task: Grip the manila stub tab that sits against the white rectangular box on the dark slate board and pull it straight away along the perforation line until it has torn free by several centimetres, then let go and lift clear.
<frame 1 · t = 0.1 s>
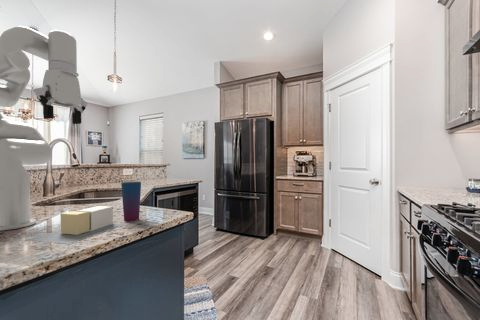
hand: (63, 121, 76), 37 cm above the counter, tool pointing down, fingers open, 9 cm apart
board: (80, 233, 71), on the counter
white rectangular box: (94, 226, 76), resting on board
cup: (131, 222, 85), on the counter
stub: (75, 222, 70), point 4 cm above the counter, slide at 0.0 cm
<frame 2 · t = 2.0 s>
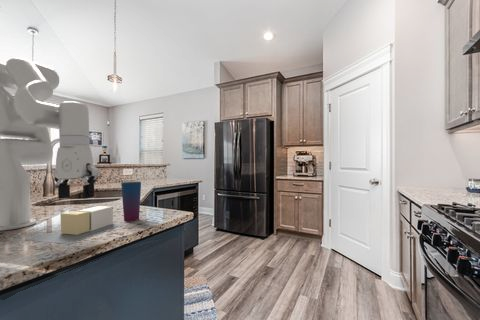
hand: (76, 197, 70), 12 cm above the counter, tool pointing down, fingers open, 9 cm apart
nothing on the counter moved.
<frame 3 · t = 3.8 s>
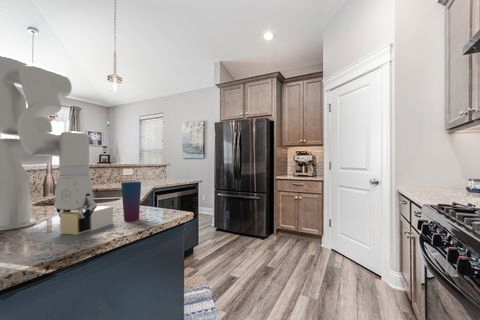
hand: (75, 229, 70), 2 cm above the counter, tool pointing down, fingers closed on stub, 6 cm apart
stub: (75, 222, 70), point 4 cm above the counter, slide at 0.0 cm, touching gripper
everything else where it was.
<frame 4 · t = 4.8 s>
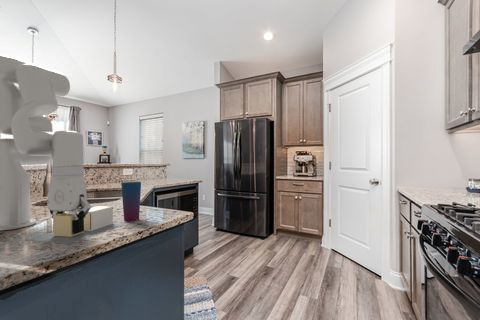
hand: (68, 231, 68), 2 cm above the counter, tool pointing down, fingers closed on stub, 6 cm apart
stub: (68, 223, 68), point 4 cm above the counter, slide at 2.0 cm, touching gripper
everything else where it was.
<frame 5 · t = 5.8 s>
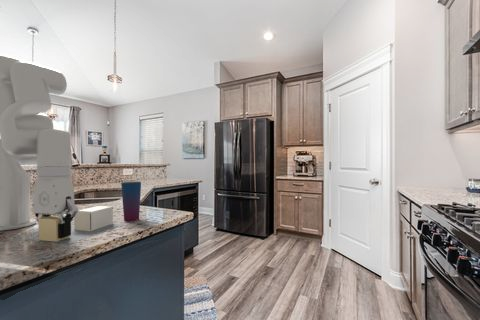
hand: (54, 235, 64), 2 cm above the counter, tool pointing down, fingers closed on stub, 6 cm apart
stub: (54, 227, 64), point 4 cm above the counter, slide at 6.0 cm, touching gripper
everything else where it was.
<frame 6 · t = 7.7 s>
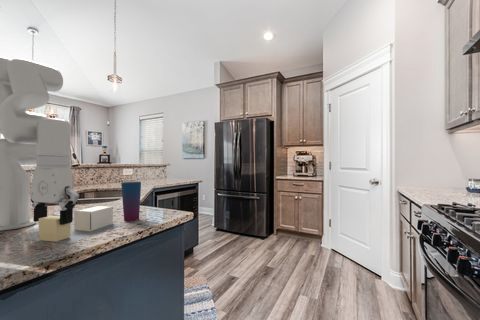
hand: (53, 221, 64), 6 cm above the counter, tool pointing down, fingers open, 9 cm apart
stub: (54, 227, 64), point 4 cm above the counter, slide at 6.0 cm
everything else where it was.
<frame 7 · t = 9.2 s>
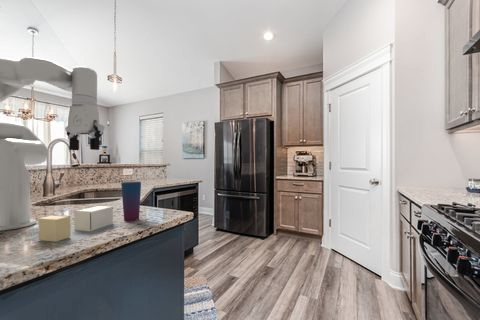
hand: (84, 149, 82), 27 cm above the counter, tool pointing down, fingers open, 9 cm apart
nothing on the counter moved.
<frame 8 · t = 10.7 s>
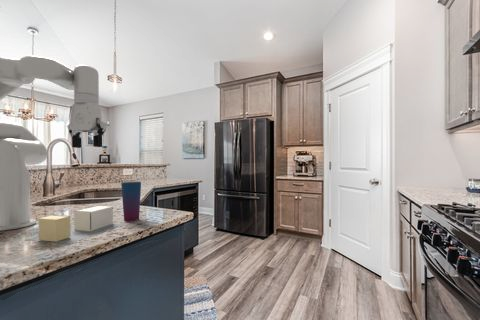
hand: (87, 147, 83), 28 cm above the counter, tool pointing down, fingers open, 9 cm apart
nothing on the counter moved.
at the end: stub slide at 6.0 cm; the gripper is holding nothing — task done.
